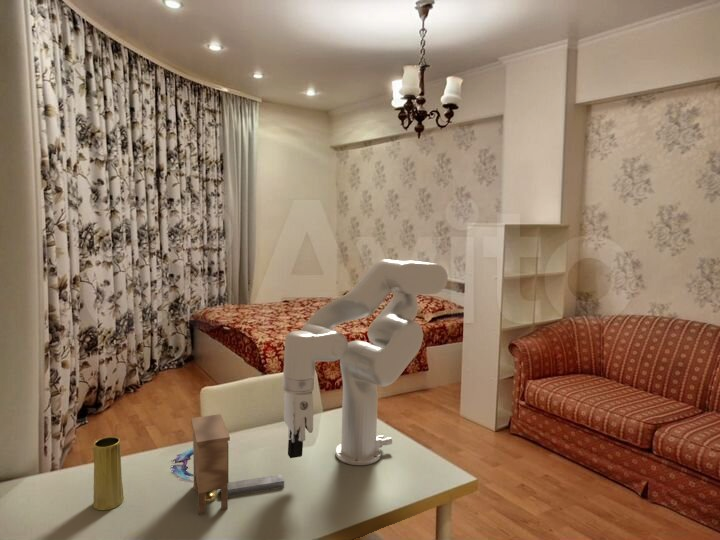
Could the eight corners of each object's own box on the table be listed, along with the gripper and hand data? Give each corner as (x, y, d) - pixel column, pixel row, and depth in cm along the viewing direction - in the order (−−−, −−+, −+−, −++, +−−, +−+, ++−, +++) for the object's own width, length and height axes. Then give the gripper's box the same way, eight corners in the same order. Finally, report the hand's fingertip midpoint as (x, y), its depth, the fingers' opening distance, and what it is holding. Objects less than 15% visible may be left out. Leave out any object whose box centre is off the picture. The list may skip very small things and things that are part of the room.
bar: (281, 482, 119) (281, 474, 119) (284, 488, 116) (284, 480, 116) (220, 491, 114) (220, 483, 114) (221, 498, 111) (221, 490, 111)
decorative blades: (173, 444, 134) (210, 443, 136) (173, 447, 134) (210, 446, 136) (154, 483, 115) (198, 481, 117) (154, 486, 115) (198, 484, 117)
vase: (102, 494, 111) (101, 434, 109) (129, 495, 111) (127, 436, 109) (87, 510, 105) (84, 447, 103) (114, 511, 105) (113, 449, 103)
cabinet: (221, 480, 118) (220, 414, 116) (229, 509, 106) (229, 436, 105) (191, 485, 115) (191, 418, 113) (197, 516, 104) (196, 442, 102)
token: (215, 492, 113) (215, 487, 113) (218, 501, 110) (217, 496, 110) (197, 496, 112) (197, 491, 112) (199, 505, 108) (199, 500, 108)
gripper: (323, 391, 111) (319, 468, 113) (304, 372, 125) (300, 441, 126) (292, 394, 108) (288, 473, 110) (275, 374, 122) (272, 444, 123)
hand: (294, 455), depth 118 cm, fingers closed
